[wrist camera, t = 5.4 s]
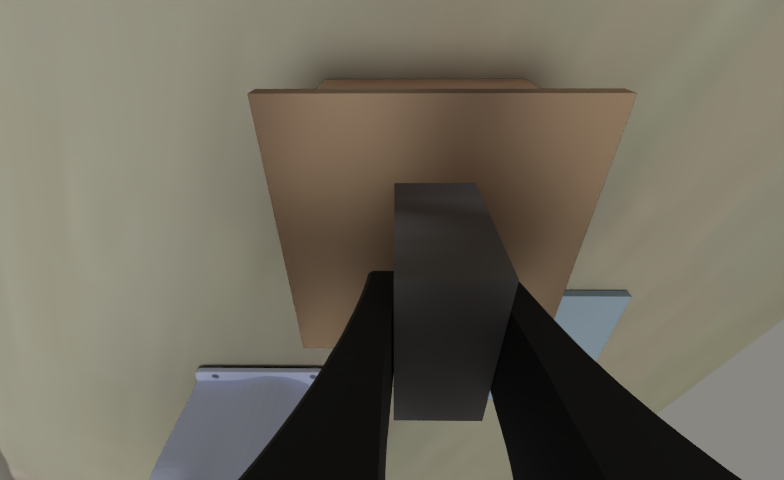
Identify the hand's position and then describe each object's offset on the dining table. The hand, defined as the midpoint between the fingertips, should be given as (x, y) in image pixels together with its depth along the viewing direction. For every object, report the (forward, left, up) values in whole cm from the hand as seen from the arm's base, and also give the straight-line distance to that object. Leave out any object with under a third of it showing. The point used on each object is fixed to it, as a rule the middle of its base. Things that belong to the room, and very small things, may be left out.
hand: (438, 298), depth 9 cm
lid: (0, 0, -3) cm, 3 cm away
